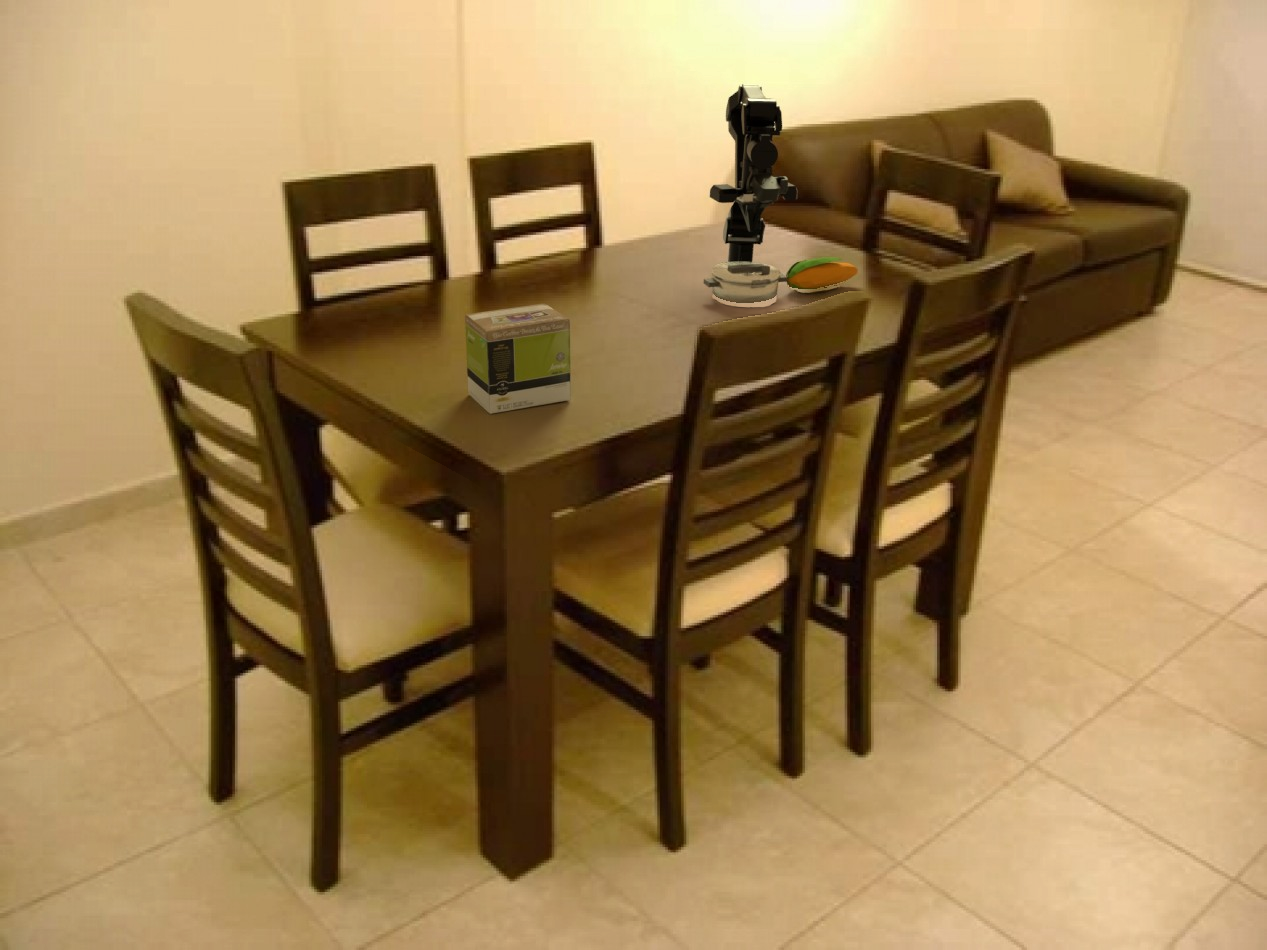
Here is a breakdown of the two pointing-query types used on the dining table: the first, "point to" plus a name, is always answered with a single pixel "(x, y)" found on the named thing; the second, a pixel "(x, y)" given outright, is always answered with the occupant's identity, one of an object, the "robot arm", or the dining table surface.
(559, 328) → the tea box
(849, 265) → the corn
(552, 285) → the dining table surface
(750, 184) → the robot arm
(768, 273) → the lid
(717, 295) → the pot
